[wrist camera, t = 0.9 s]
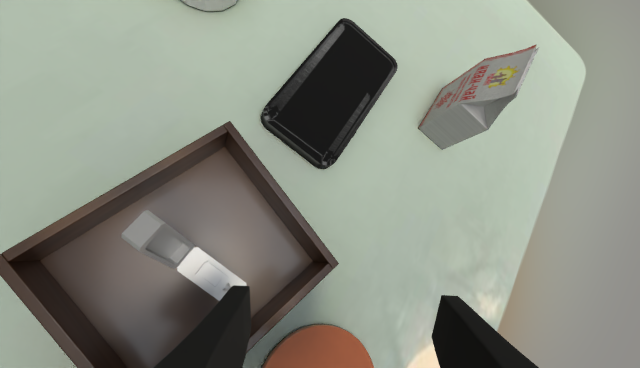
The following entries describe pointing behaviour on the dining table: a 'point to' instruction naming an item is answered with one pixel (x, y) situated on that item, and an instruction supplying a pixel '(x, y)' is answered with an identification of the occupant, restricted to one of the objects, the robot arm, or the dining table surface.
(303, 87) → the phone
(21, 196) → the dining table surface
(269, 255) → the tray
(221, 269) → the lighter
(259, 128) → the dining table surface
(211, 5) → the white cup
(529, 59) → the milk carton
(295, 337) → the coaster
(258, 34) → the dining table surface
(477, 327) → the robot arm
